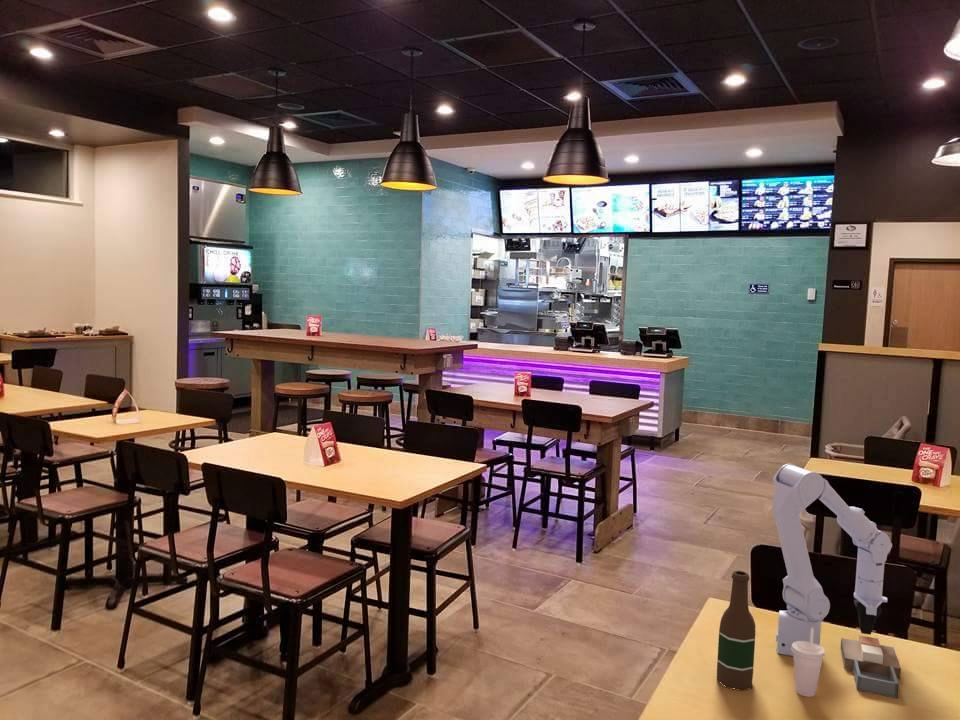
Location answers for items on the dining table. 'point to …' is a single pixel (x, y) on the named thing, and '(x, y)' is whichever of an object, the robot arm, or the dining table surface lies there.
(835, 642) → the dining table surface
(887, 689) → the tray
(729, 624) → the beer bottle
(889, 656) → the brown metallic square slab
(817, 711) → the dining table surface
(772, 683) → the dining table surface
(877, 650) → the cream tile
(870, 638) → the terracotta tile
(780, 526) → the robot arm
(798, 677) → the smoothie
